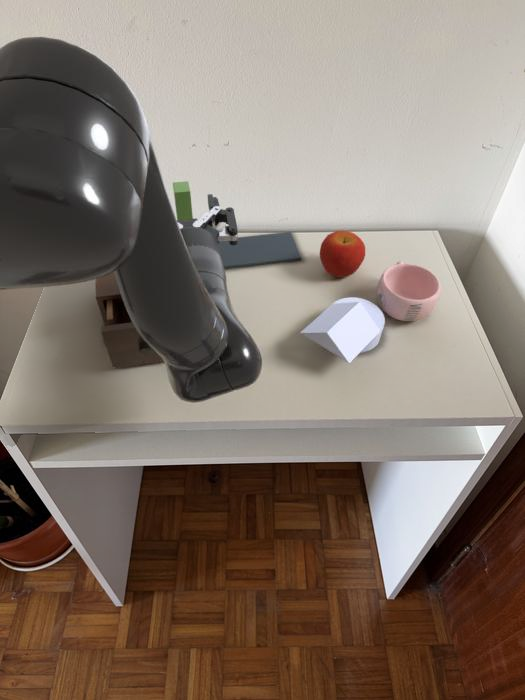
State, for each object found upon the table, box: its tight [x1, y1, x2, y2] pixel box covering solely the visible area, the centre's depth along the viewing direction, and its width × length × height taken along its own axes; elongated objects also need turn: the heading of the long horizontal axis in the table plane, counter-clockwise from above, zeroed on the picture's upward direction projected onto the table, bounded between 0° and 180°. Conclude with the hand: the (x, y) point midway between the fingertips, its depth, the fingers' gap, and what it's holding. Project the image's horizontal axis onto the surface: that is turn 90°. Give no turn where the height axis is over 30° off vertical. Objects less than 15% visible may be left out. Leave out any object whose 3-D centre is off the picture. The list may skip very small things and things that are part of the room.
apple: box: [319, 230, 366, 278], centre depth 87 cm, size 8×8×8 cm
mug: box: [376, 260, 442, 322], centre depth 83 cm, size 12×10×6 cm
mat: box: [218, 231, 302, 270], centre depth 93 cm, size 22×8×1 cm, turn 102°
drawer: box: [101, 298, 164, 369], centre depth 75 cm, size 14×10×8 cm
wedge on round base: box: [300, 296, 386, 364], centre depth 77 cm, size 9×7×13 cm
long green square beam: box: [172, 180, 194, 220], centre depth 85 cm, size 2×3×15 cm
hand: (182, 201), depth 76 cm, fingers open, 8 cm apart
